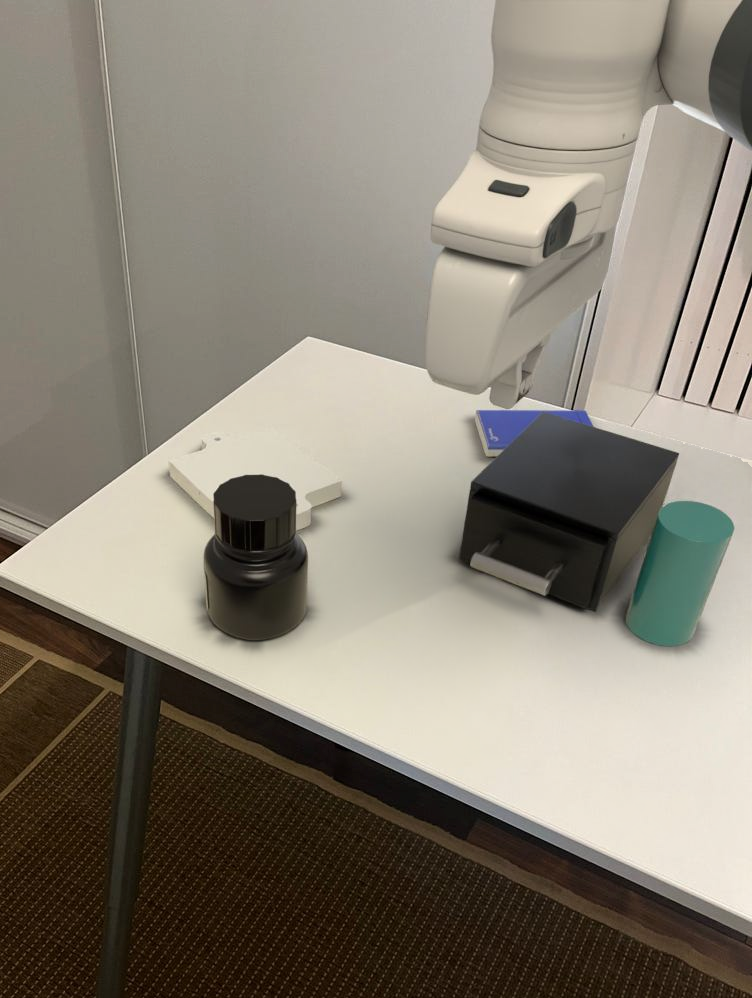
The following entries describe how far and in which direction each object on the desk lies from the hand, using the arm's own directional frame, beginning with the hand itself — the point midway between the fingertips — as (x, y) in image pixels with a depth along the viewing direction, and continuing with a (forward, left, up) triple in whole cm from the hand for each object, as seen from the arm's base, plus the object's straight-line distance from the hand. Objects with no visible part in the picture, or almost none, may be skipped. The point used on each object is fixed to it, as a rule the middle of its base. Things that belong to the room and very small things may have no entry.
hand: (509, 398), depth 66 cm
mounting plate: (+30, -11, -24) cm, 40 cm away
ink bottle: (+18, +5, -24) cm, 31 cm away
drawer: (0, -16, -23) cm, 28 cm away
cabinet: (0, -20, -24) cm, 31 cm away
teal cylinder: (-12, -14, -24) cm, 30 cm away
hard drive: (+10, -37, -24) cm, 45 cm away
